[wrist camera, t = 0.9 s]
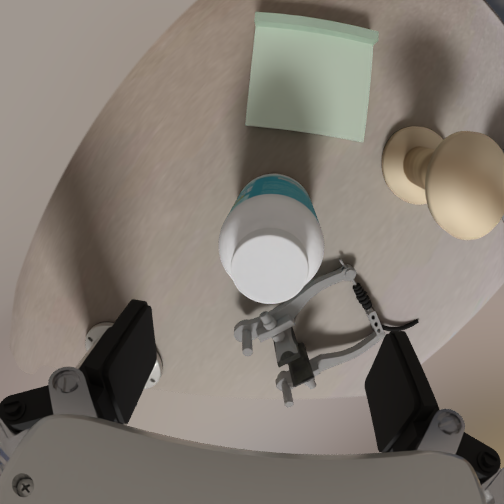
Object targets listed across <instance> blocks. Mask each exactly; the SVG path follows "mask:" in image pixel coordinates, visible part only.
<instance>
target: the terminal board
mask: <svg viewBox="0 0 504 504" xmlns="http://www.w3.org/2000/svg"><path fill="white" fill-rule="evenodd" d="M254 21H255V25H256V29H255V38H254V46H253V55H252V65H251V74H250V83H249V93H248V103H247V112H246V123H245V125H246V126H256V127H266V128H275V129H284V130H291V131H299V132H306V133H313V134H319V135H325V136H331V137H337V138H342V139H348V140H353V141H358V142H363V141H364V134H365V126H366V119H367V110H368V101H369V92H370V81H371V69H372V56H373V45H374V44H375V43H376V42H378V33H379V32H377V31H374V30H370V29H366V28H362V27H358V26H353V25H349V24H344V23H339V22H334V21H329V20H323V19H317V18H311V17H304V16H296V15H288V14H278V13H266V12H255V20H254Z"/></svg>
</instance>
